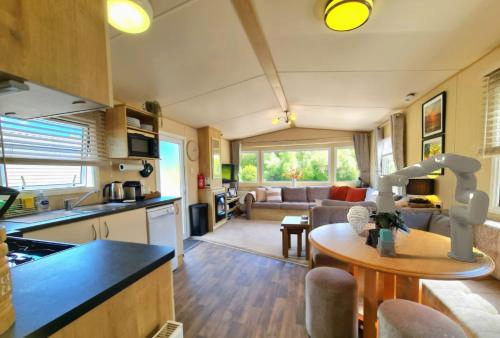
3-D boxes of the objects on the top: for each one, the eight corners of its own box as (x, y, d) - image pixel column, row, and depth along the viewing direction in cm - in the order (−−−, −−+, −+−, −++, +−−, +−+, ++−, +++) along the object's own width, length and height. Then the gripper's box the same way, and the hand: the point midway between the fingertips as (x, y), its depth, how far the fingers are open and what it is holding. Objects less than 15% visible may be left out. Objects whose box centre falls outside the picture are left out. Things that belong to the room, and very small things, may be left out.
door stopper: (382, 247, 146) (382, 230, 145) (375, 248, 144) (375, 231, 144) (372, 243, 154) (372, 226, 154) (365, 244, 153) (365, 227, 153)
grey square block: (390, 253, 137) (390, 245, 137) (395, 258, 129) (395, 250, 129) (376, 252, 139) (376, 244, 139) (380, 257, 131) (380, 249, 131)
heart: (369, 241, 159) (368, 211, 158) (346, 237, 166) (346, 209, 166) (369, 230, 183) (369, 205, 182) (349, 228, 191) (349, 203, 190)
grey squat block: (390, 245, 136) (390, 238, 136) (394, 250, 129) (394, 241, 129) (378, 244, 138) (377, 237, 138) (381, 249, 131) (381, 241, 131)
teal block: (388, 238, 136) (388, 229, 135) (391, 241, 131) (391, 231, 131) (380, 237, 137) (380, 228, 137) (382, 240, 132) (382, 231, 132)
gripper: (398, 193, 135) (399, 220, 135) (368, 193, 139) (369, 219, 140) (403, 195, 127) (404, 223, 128) (371, 195, 132) (372, 222, 132)
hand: (385, 221), depth 134 cm, fingers open, 9 cm apart
